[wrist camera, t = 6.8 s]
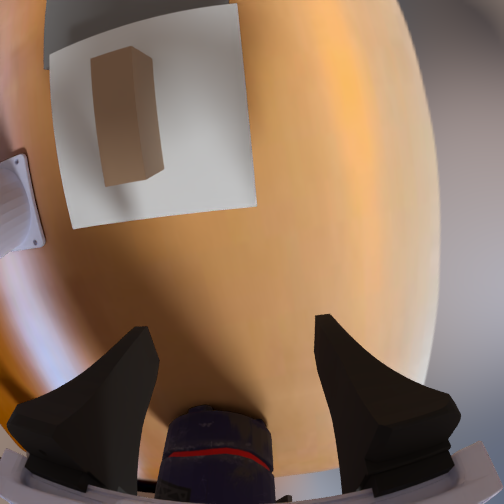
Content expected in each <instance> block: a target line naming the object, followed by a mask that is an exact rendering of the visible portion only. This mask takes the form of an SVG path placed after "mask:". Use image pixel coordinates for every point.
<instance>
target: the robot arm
mask: <svg viewBox="0 0 504 504" xmlns="http://www.w3.org/2000/svg"><path fill="white" fill-rule="evenodd" d="M17 160H18V161H19V163H18V162H17ZM36 241H37V243H36ZM44 245H45V237H44V234H43V230H42V227H41V223H40V219H39V215H38V211H37V207H36V203H35V198H34V194H33V189H32V184H31V179H30V174H29V168H28V162H27V157H26V155H25V154H24V153H23V154H19V155H16V156H14V157H12V158H9V159H7V160H5V161H2V162H0V259H1V258H2V257H3V256H5V255H6V254H8V253H9V252H12V251H18V250H25V249H32V248H39V247H42V246H44ZM314 354H315V360H316V366H317V371H318V374H319V378H320V381H321V384H322V387H323V391H324V394H325V397H326V400H327V404H328V407H329V410H330V414H331V418H332V422H333V427H334V433H335V439H336V446H337V452H338V459H339V467H340V476H341V486H342V495H337V496H332V497H326V498H319V499H312V500H304V501H296V502H286V503H273V504H484V503H485V502H487V501H488V500H489V499H491V498H492V497H493V496H495V495H496V494H497V493H498V492H500V491H501V490H502V488H503V485H502V483H501V481H500V479H499V476H498V474H497V472H496V470H495V468H494V465H493V463H492V461H491V459H490V457H489V455H488V453H487V451H486V449H485V447H484V445H483V443H482V441H478V442H476V443H474V444H472V445H470V446H468V447H466V448H463V449H461V450H459V451H457V452H456V453H454V454H453V455H452V456H451V455H450V453H449V451H448V450H449V449H450V448H451V445H450V443H449V441H448V438H449V437H450V436H451V434H452V433H453V431H454V430H455V428H456V427H457V425H458V423H459V421H460V419H461V414H460V412H459V410H458V408H457V406H456V404H455V402H454V401H453V399H452V398H451V396H450V395H449V394H447V393H444V392H440V391H438V390H435V389H432V388H429V387H426V386H424V385H421V384H419V383H417V382H415V381H412V380H410V379H408V378H406V377H404V376H403V375H401V374H399V373H397V372H396V371H394V370H392V369H391V368H389V367H387V366H386V365H385V364H383V363H382V362H380V361H379V360H377V359H376V358H375V357H374V356H372V355H371V354H370V353H369V352H367V351H366V350H365V349H364V348H363V347H362V346H361V345H360V344H358V343H357V342H356V341H355V340H354V339H353V338H352V337H351V336H350V335H349V334H348V333H347V332H346V331H345V330H344V329H343V328H342V326H341V325H340V324H339V323H338V322H337V321H336V320H335V319H334V318H333V317H332V315H330V314H324V315H315V340H314ZM159 361H160V360H159V358H158V355H157V352H156V349H155V347H154V344H153V341H152V338H151V335H150V332H149V330H148V327H147V326H142V327H134V328H133V329H132V330H131V331H129V332H128V333H127V334H126V335H125V336H124V337H123V338H122V339H121V340H120V341H119V342H118V343H117V344H115V345H114V346H113V347H112V348H111V349H110V350H109V351H108V352H107V353H106V354H105V355H103V356H102V357H101V358H100V359H99V360H98V361H96V362H95V363H94V364H93V365H92V366H91V367H89V368H88V369H87V370H85V371H84V372H83V373H81V374H80V375H78V376H77V377H75V378H74V379H72V380H71V381H69V382H67V383H66V384H64V385H62V386H61V387H59V388H57V389H55V390H53V391H51V392H49V393H47V394H45V395H43V396H40V397H38V398H35V399H32V400H30V401H27V402H24V403H21V404H18V405H17V406H16V408H15V410H14V412H13V413H12V415H11V417H10V419H9V421H8V422H7V428H8V430H9V432H10V433H11V435H12V436H13V437H14V438H15V439H16V440H17V441H18V442H19V443H20V444H21V446H22V447H23V448H24V449H25V450H26V451H27V452H28V453H29V454H30V455H29V457H28V459H27V458H26V457H24V456H23V455H21V454H19V453H17V452H14V451H12V450H10V449H8V448H6V449H5V451H4V453H3V455H2V457H1V459H0V497H2V498H3V499H4V500H6V501H7V502H9V503H10V504H199V503H186V502H176V501H167V500H160V499H153V498H147V497H141V496H137V470H138V457H139V447H140V440H141V433H142V427H143V423H144V419H145V415H146V412H147V409H148V406H149V402H150V399H151V396H152V393H153V389H154V386H155V383H156V379H157V374H158V367H159Z"/></svg>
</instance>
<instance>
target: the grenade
mask: <svg viewBox="0 0 504 504" xmlns="http://www.w3.org/2000/svg"><path fill="white" fill-rule="evenodd" d="M272 471H273V454H272V439H271V433H270V432H269V430H268V429H267V428H266V426H265V424H264V422H263V421H262V420H261V419H256V420H254V419H252V418H250V417H248V416H245V415H242V414H238V413H233V412H229V411H213V408H211V407H210V406H208V405H202V406H197V407H194V408H191V409H189V411H188V414H185V415H182V416H180V417H178V418H176V419H175V420H173V421H172V423H171V424H170V425H169V429H168V433H167V438H166V442H165V447H164V452H163V457H162V462H161V465H160V470H159V475H158V481H157V486H156V491H155V498H154V499H160V500H167V501H176V502H186V503H199V504H273V503H286V502H292V496H290V495H286V496H284V497H282V498H281V499H279V500H277V501H276V500H275V484H274V475H273V474H272Z"/></svg>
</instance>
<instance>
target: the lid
mask: <svg viewBox="0 0 504 504" xmlns="http://www.w3.org/2000/svg"><path fill="white" fill-rule="evenodd" d="M49 66H50V91H51V105H52V116H53V126H54V134H55V142H56V149H57V155H58V162H59V167H60V173H61V178H62V184H63V188H64V193H65V198H66V202H67V207H68V211H69V215H70V219H71V223H72V227H73V229H78V228H84V227H91V226H97V225H104V224H111V223H118V222H125V221H132V220H140V219H147V218H155V217H163V216H171V215H180V214H188V213H197V212H206V211H216V210H226V209H236V208H246V207H257V200H256V189H255V178H254V168H253V157H252V146H251V136H250V125H249V115H248V105H247V94H246V84H245V74H244V64H243V55H242V45H241V35H240V26H239V16H238V7H237V3H234V4H225V5H217V6H209V7H203V8H196V9H191V10H185V11H180V12H175V13H170V14H166V15H161V16H157V17H153V18H149V19H145V20H141V21H138V22H134V23H131V24H127V25H124V26H121V27H118V28H115V29H112V30H109V31H106V32H103V33H100V34H97V35H95V36H92V37H89V38H87V39H84V40H82V41H79V42H77V43H74V44H72V45H70V46H67V47H65V48H63V49H60V50H58V51H56V52H54V53H52V54H50V55H49Z"/></svg>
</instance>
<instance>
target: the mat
mask: <svg viewBox="0 0 504 504" xmlns="http://www.w3.org/2000/svg"><path fill="white" fill-rule="evenodd" d="M225 4H229V0H47V3H46V14H45V28H44V69H46V70H49V69H50V66H49V55H50V54H52V53H54V52H56V51H58V50H60V49H63V48H65V47H67V46H70V45H72V44H74V43H77V42H79V41H82V40H84V39H87V38H89V37H92V36H95V35H97V34H100V33H103V32H106V31H109V30H112V29H115V28H118V27H121V26H124V25H127V24H131V23H134V22H138V21H141V20H145V19H149V18H153V17H157V16H161V15H166V14H170V13H175V12H180V11H185V10H191V9H196V8H203V7H209V6H217V5H225Z"/></svg>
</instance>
